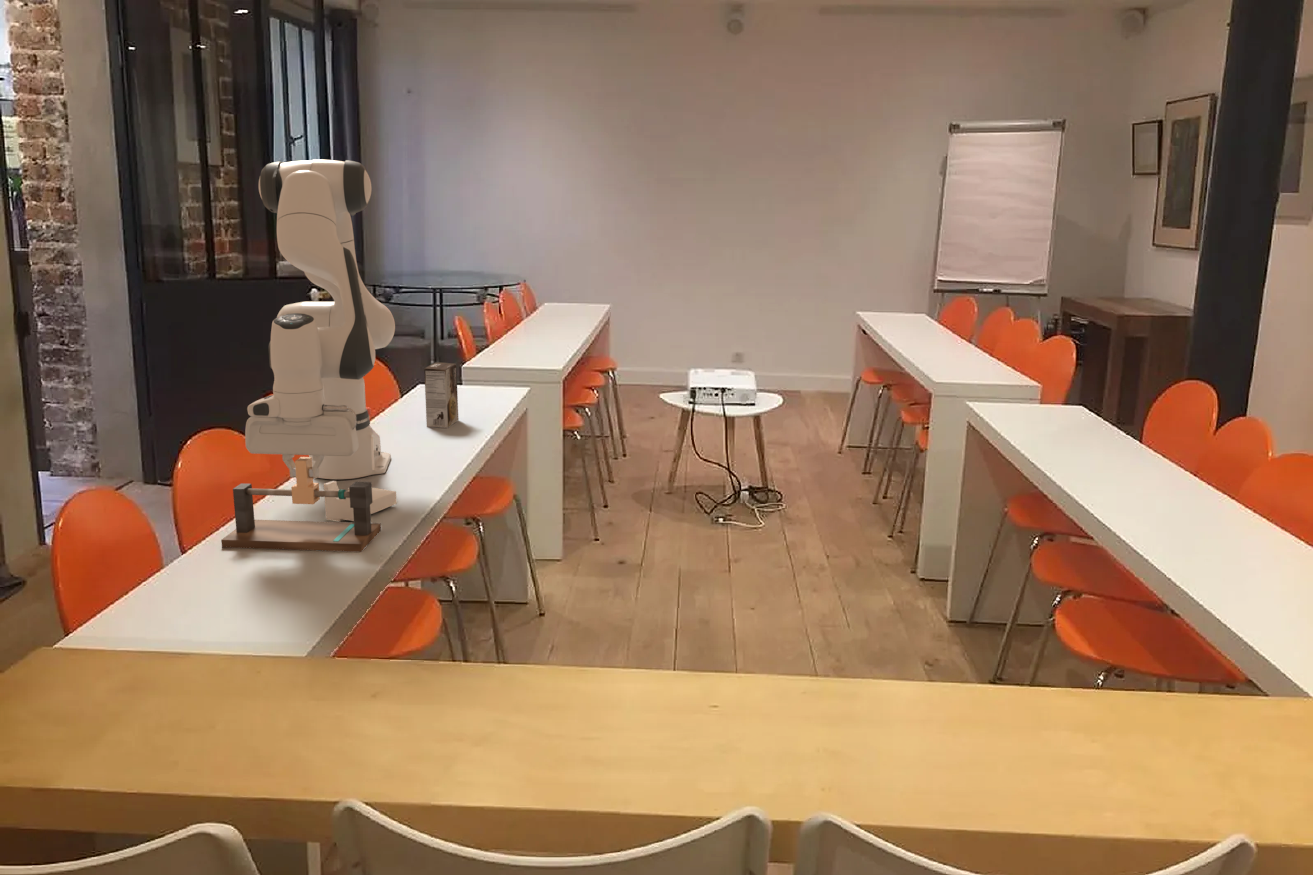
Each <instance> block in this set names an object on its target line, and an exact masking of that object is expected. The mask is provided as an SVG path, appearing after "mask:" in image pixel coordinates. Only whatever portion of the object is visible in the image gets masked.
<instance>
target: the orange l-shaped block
mask: <svg viewBox="0 0 1313 875" xmlns="http://www.w3.org/2000/svg"><path fill="white" fill-rule="evenodd" d="M294 463H295V468H296V478H295V479H296V483H295V484H294V485H292V486H291V489H290V490H292V496H291V500H292V505H315V504H316V503H317V502H319V501H320V499H321V497H314V490H320V483H319V482H314V478H308V469H309V468H310V467H312V457H309V456H300V457H299V458H297V459H296V460H295V461H294Z"/></svg>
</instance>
